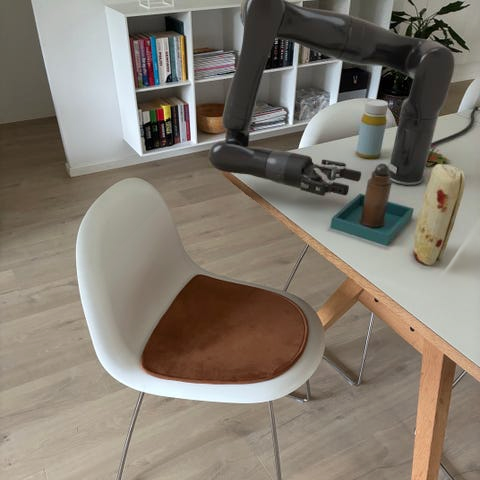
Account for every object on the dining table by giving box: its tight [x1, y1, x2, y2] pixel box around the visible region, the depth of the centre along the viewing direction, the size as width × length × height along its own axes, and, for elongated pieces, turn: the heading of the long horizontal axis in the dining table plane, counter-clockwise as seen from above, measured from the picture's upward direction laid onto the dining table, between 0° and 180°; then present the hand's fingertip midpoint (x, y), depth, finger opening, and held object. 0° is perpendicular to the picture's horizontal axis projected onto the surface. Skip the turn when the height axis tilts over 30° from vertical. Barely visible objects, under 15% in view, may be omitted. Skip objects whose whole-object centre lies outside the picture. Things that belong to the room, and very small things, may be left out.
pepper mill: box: [360, 163, 393, 229], centre depth 117 cm, size 6×6×14 cm
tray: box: [330, 193, 415, 247], centre depth 121 cm, size 16×14×3 cm
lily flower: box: [426, 145, 452, 167], centre depth 152 cm, size 12×12×5 cm
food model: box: [412, 163, 466, 267], centre depth 104 cm, size 10×7×20 cm
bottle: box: [355, 98, 389, 160], centre depth 151 cm, size 7×7×15 cm
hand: (354, 183), depth 118 cm, fingers open, 8 cm apart
